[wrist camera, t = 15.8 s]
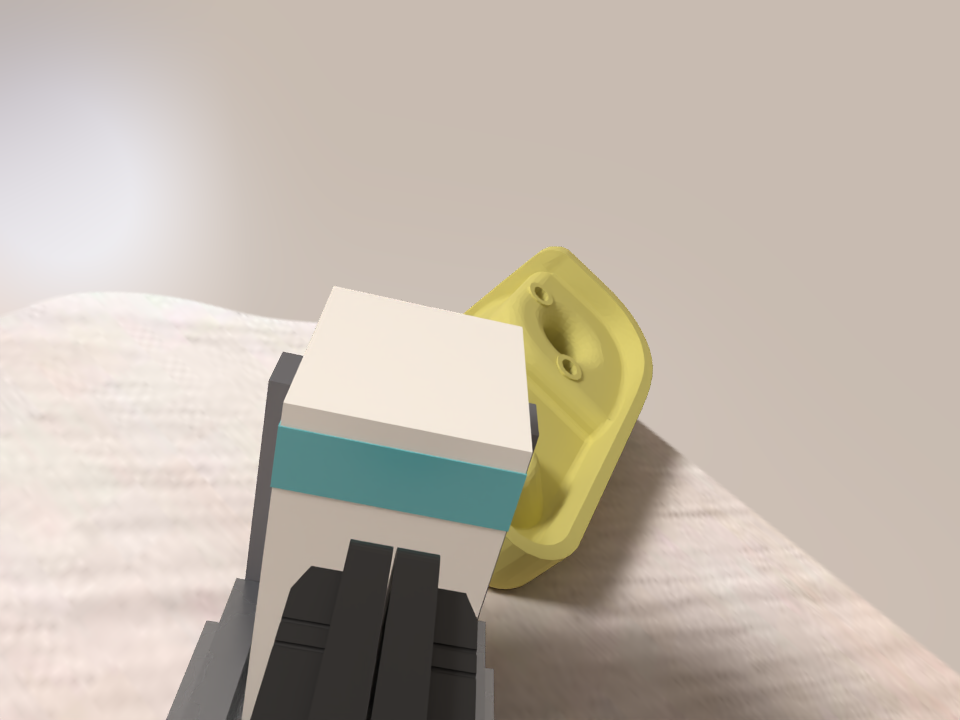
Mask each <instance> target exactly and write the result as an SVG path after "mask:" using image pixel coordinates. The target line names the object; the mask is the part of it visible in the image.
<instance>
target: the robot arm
mask: <svg viewBox="0 0 960 720" xmlns="http://www.w3.org/2000/svg"><path fill="white" fill-rule="evenodd" d="M393 549H394V547H393V546H387V545H382V544H376V543H371V542H365V541H360V540H354V539H351V540H350V543H349V548H348V552H347V556H346V560H345V565H344V569H343V571H338V570H333V569H327V568H321V567H316V566H311V567H310V568H309V569H308V570H307V571H306V572H305V573H304V574H303V575H302V576H301V577H300V578H299V579H298V581H297V582H296V583H295V584H294V585H293V586H292V587H291V588H290V592H289V595H288V598H287V601H286V605H285V608H284V611H283V614H282V618H281V622H280V624H279V627H278V631H277V634H276V637H275V641H274V645H273V647H272V650H271V653H270V657H269V660H268V663H267V666H266V669H265V673H264V676H263V679H262V682H261V686H260V689H259V692H258V695H257V699H256V702H255V705H254V708H253V712H252V715H251V718H250V720H475V712H476V673H477V655H476V652H477V634H478V620H477V617H476V615H475V613H474V610H473V608H472V606H471V604H470V601H469V599H468V597H467V594H466V593H463V592H457V591H452V590H446V589H440V588H438V582H439V571H440V555H438V554H432V553H427V552H421V551H416V550H410V549H405V548H399V547H397V550H396V553H395V558H394V562H393V566H392V570H391V575H390V579H389V574H390V568H391V562H392V556H393ZM388 580H389V583H388ZM387 586H388V587H387Z"/></svg>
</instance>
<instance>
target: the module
mask: <svg viewBox="0 0 960 720" xmlns="http://www.w3.org/2000/svg"><path fill="white" fill-rule="evenodd" d="M532 453H533V451H532V439H531V427H530V414H529V402H528V390H527V378H526V365H525V353H524V341H523V329H522V327H520V326H516V325H511V324H507V323H502V322H497V321H493V320H488V319H484V318H479V317H474V316H470V315H465V314H461V313H455V312H451V311H446V310H442V309H437V308H432V307H428V306H423V305H419V304H414V303H410V302H405V301H401V300H396V299H392V298H387V297H382V296H377V295H373V294H368V293H364V292H359V291H355V290H350V289H346V288H341V287H336V286H334V287H333V290H332V292H331V294H330V296H329V299H328V301H327V303H326V305H325V308H324V310H323V312H322V315H321V317H320V319H319V321H318V324H317V326H316V328H315V331H314V333H313V335H312V338H311V340H310V342H309V344H308V347H307V349H306V351H305V354H304V356H303V358H302V361H301V363H300V365H299V367H298V370H297V372H296V374H295V377H294V379H293V381H292V384H291V386H290V388H289V390H288V393H287V395H286V397H285V400H284V402H283V408H282V416H281V421H280V423H279V425H278V431H277V439H276V446H275V454H274V462H273V470H272V477H271V485H270V487H272V492H271V500H270V507H269V515H268V522H267V530H266V538H265V545H264V553H263V560H262V568H261V576H260V583H259V591H258V599H257V606H256V614H255V621H254V629H253V637H252V644H251V652H250V659H249V667H248V675H247V682H246V690H245V697H244V705H243V713H242V720H250V718H251V715H252V712H253V708H254V705H255V702H256V699H257V695H258V692H259V689H260V686H261V682H262V679H263V676H264V673H265V669H266V666H267V663H268V660H269V657H270V653H271V650H272V647H273V645H274V641H275V637H276V634H277V631H278V627H279V624H280V622H281V618H282V614H283V611H284V608H285V605H286V601H287V598H288V595H289V592H290V588H291V587H292V586H293V585H294V584H295V583H296V582H297V581H298V579H299V578H300V577H301V576H302V575H303V574H304V573H305V572H306V571H307V570H308V569H309V568H310V567H311V566H316V567H321V568H327V569H333V570H338V571H343V569H344V565H345V560H346V556H347V552H348V548H349V543H350V540H351V539H354V540H360V541H365V542H371V543H376V544H382V545H387V546H393V547H394V549H393V556H392V562H391V568H390V574H389V579H390V575H391V570H392V566H393V562H394V558H395V553H396V550H397V547H399V548H405V549H410V550H416V551H421V552H427V553H432V554H438V555H440V571H439V582H438V588H440V589H446V590H452V591H457V592H463V593H466V594H467V597H468V599H469V601H470V604H471V606H472V608H473V610H474V613H475V615H476V617H477V618H478V615H479V612H480V609H481V606H482V603H483V600H484V597H485V594H486V591H487V588H488V585H489V582H490V579H491V576H492V573H493V570H494V567H495V564H496V561H497V558H498V555H499V552H500V549H501V546H502V543H503V540H504V537H505V534H506V531H507V532H508V531H509V528H510V525H511V522H512V519H513V516H514V513H515V510H516V507H517V504H518V501H519V498H520V495H521V492H522V489H523V486H524V483H525V480H526V477H527V468H528V465H529V462H530V459H531V456H532ZM388 583H389V580H388ZM387 587H388V586H387Z"/></svg>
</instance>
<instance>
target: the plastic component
mask: <svg viewBox="0 0 960 720" xmlns="http://www.w3.org/2000/svg"><path fill="white" fill-rule="evenodd" d="M464 314H465V315H470V316H474V317H479V318H484V319H488V320H493V321H497V322H502V323H507V324H511V325H516V326H520V327H522V329H523V341H524V353H525V365H526V378H527V390H528V402H529V403H532V404H536V408H537V418H538V428H539V438H538V441H537V444H536V447H535V450H534V453H533V456H532V459H531V462H530V465H529V468H528V471H527V477H526V480H525V483H524V486H523V489H522V492H521V495H520V498H519V501H518V504H517V507H516V510H515V513H514V516H513V519H512V522H511V525H510V528H509V531H508V532H507V533H506V536H505V539H504V542H503V545H502V548H501V551H500V554H499V557H498V560H497V563H496V566H495V569H494V572H493V575H492V578H491V581H490V584H489V586H490V587H494V588H498V589H512V588H517V587H521V586H523V585H525V584H526V583H528V582H529V581H531V580H532V579H534V578H536V577H537V576H539V575H540V574H542V573H543V572H545V571H546V570H548V569H549V568H551V567H552V566H554V565H556V564H557V563H559V562H560V561H562V560H563V559H565V558H566V557H568V556H569V555H571V554H572V553H573V552H574V551H575V550H576V549H577V548H578V546H579V544H580V542H581V539H582V537H583V535H584V533H585V531H586V529H587V526H588V524H589V522H590V520H591V518H592V516H593V513H594V511H595V509H596V507H597V505H598V503H599V501H600V498H601V496H602V494H603V492H604V490H605V488H606V485H607V483H608V481H609V479H610V477H611V475H612V472H613V470H614V468H615V466H616V464H617V462H618V459H619V457H620V455H621V453H622V451H623V449H624V447H625V444H626V442H627V440H628V438H629V436H630V434H631V431H632V429H633V427H634V425H635V423H636V421H637V418H638V416H639V414H640V412H641V410H642V407H643V405H644V402H645V400H646V397H647V395H648V392H649V389H650V385H651V380H652V371H653V365H652V357H651V353H650V349H649V347H648V344H647V341H646V339H645V337H644V335H643V333H642V331H641V329H640V327H639V325H638V324H637V322H636V321H635V319H634V318H633V316H632V315H631V313H630V312H629V311H628V309H627V308H626V307H625V305H624V304H623V303H622V302H621V301H620V300H619V299H618V297H617V296H616V295H615V294H614V293H613V292H612V291H611V290H610V289H609V288H608V287H607V286H606V285H605V284H604V283H603V282H602V281H601V280H600V279H599V278H597V276H596V275H594V274H593V273H592V272H591V271H590V270H589V269H588V268H587V267H586V266H585V265H584V264H583V263H582V262H581V261H580V260H579V259H578V258H577V257H575V255H574V254H572V253H571V252H570V251H569V250H568V249H566V248H563V247H548V248H546V249H543V250H541V251H540V252H539V253H537V254H536V255H535V256H534V257H532V258H531V259H530V260H528V261H527V262H526V263H525V264H523V265H522V266H521V267H520V268H518V270H516V271H515V272H514V273H512V274H511V275H510V276H509V277H507V278H506V279H505V280H504V281H502V282H501V283H500V284H499V285H498V286H496V287H495V288H494V289H493V290H491V291H490V292H489V293H488V294H487V295H485V296H484V297H483V298H482V299H481V300H479V301H478V302H477V303H476V304H474V305H473V306H472V307H471V308H470V309H469V310H467V311H466V312H465V313H464Z"/></svg>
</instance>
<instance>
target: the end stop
mask: <svg viewBox="0 0 960 720" xmlns="http://www.w3.org/2000/svg"><path fill="white" fill-rule="evenodd" d="M302 358H303V356H301V355H296V354H291V353H286V352H283V353H282V355H281V357H280V359H279V361H278V363H277V365H276V367H275V369H274V371H273V373H272V375H271V377H270V379H269V383H268V392H267V400H266V409H265V417H264V426H263V434H262V443H261V451H260V459H259V468H258V476H257V485H256V493H255V502H254V510H253V518H252V527H251V535H250V544H249V552H248V561H247V569H246V578H245V580H250V581H256V582H260V576H261V568H262V560H263V553H264V545H265V538H266V530H267V522H268V515H269V507H270V500H271V492H272V487H270V485H271V477H272V470H273V462H274V454H275V446H276V439H277V431H278V425H279V423H280V421H281V416H282V408H283V402H284V400H285V397H286V395H287V393H288V390H289V388H290V386H291V384H292V381H293V379H294V377H295V374H296V372H297V370H298V367H299V365H300V363H301V361H302ZM529 414H530V427H531V439H532V451H533V453H534V450H535V447H536V444H537V441H538V438H539V428H538V418H537V408H536V404H532V403H529ZM533 453H532V456H533ZM532 456H531V459H532ZM531 459H530V462H531ZM530 462H529V465H530ZM529 465H528V468H529ZM528 468H527V471H528ZM506 533H507V531H506ZM505 536H506V534H505ZM504 539H505V537H504ZM503 542H504V540H503ZM502 545H503V543H502ZM501 548H502V546H501ZM500 551H501V549H500ZM499 554H500V552H499ZM498 557H499V555H498ZM497 560H498V558H497ZM496 563H497V561H496ZM495 566H496V564H495ZM494 569H495V567H494ZM493 572H494V570H493ZM492 575H493V573H492ZM491 578H492V576H491ZM490 581H491V579H490ZM489 584H490V582H489ZM488 587H489V585H488ZM487 590H488V588H487ZM486 593H487V591H486ZM485 596H486V594H485ZM484 599H485V597H484ZM483 602H484V600H483ZM482 605H483V603H482ZM481 608H482V606H481ZM480 611H481V609H480ZM479 614H480V612H479ZM478 617H479V615H478ZM477 620H478V618H477Z"/></svg>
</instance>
